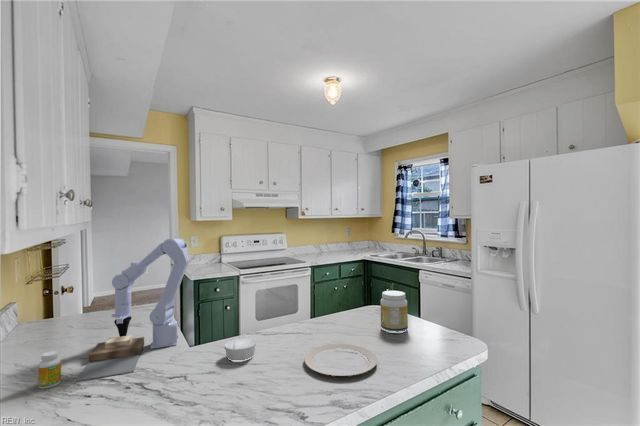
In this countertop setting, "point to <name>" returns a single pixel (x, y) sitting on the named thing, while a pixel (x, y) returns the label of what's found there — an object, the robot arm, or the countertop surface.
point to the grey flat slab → (108, 368)
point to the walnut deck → (116, 350)
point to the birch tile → (118, 342)
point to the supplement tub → (394, 311)
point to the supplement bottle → (49, 370)
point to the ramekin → (240, 348)
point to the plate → (366, 352)
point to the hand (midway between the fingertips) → (123, 336)
